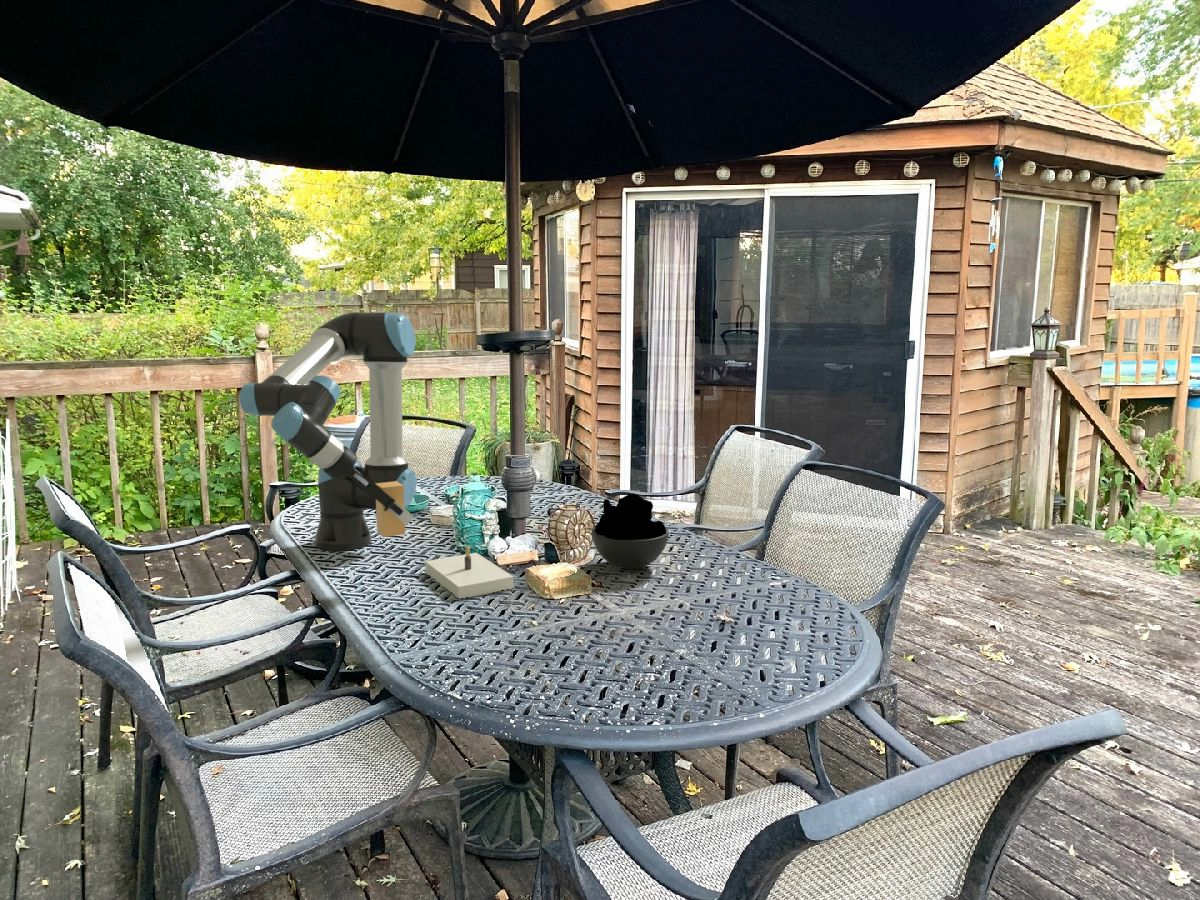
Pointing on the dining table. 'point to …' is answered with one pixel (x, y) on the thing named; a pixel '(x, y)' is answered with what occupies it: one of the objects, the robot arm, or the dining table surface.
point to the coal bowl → (629, 533)
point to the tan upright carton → (386, 519)
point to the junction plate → (469, 575)
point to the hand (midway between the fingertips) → (405, 517)
